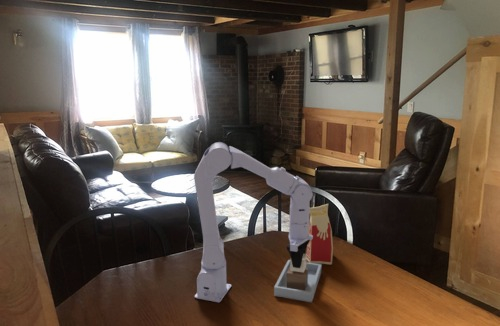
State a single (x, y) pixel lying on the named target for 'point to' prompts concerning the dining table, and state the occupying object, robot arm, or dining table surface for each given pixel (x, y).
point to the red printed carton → (320, 236)
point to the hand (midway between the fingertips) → (298, 263)
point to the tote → (295, 294)
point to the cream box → (303, 265)
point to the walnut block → (297, 279)
